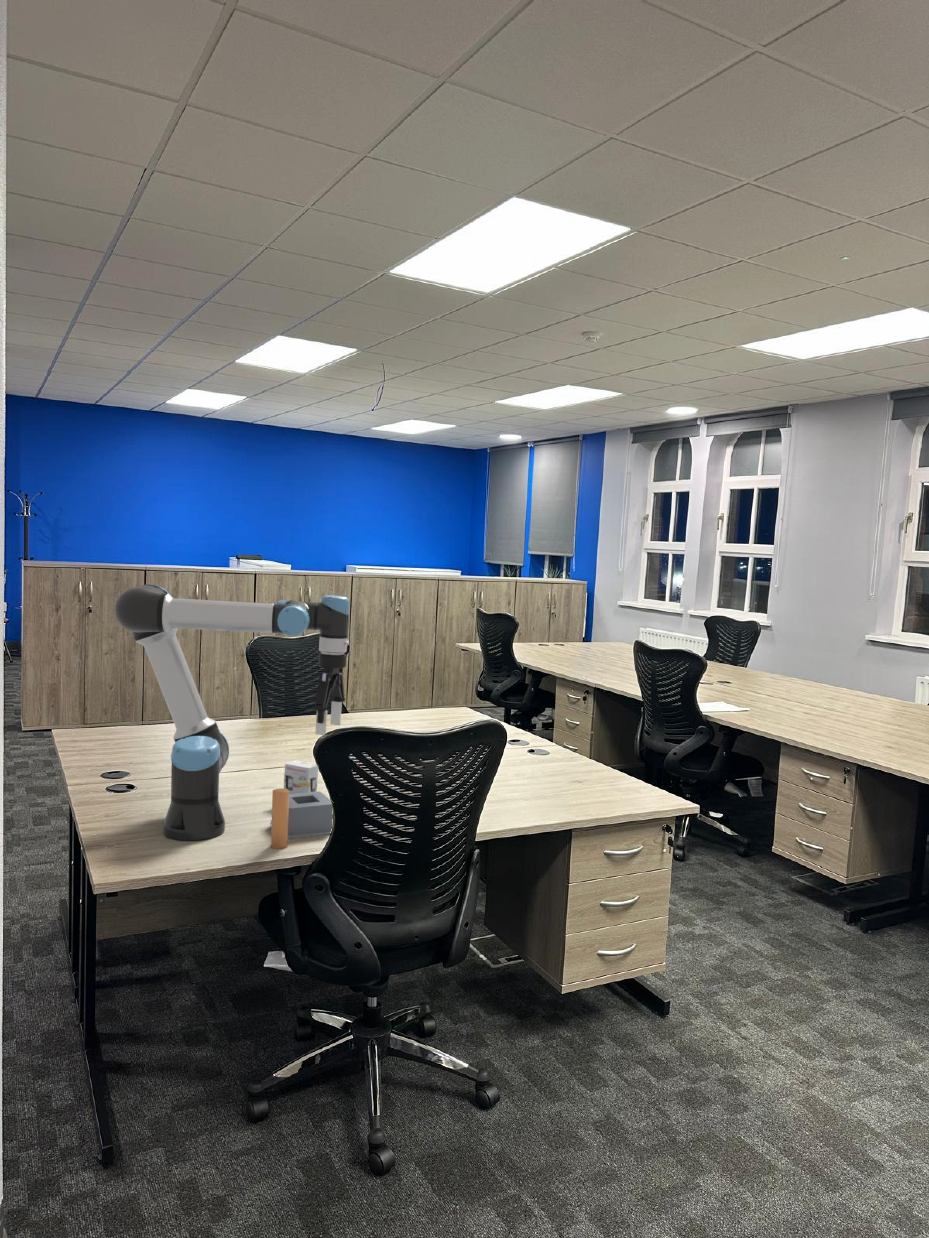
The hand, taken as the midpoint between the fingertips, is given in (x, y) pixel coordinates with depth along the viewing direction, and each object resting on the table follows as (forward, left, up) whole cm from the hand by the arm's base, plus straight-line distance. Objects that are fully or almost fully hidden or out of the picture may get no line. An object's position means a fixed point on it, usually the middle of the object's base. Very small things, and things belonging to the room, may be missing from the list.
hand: (328, 729), depth 240 cm
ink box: (-3, +12, -24) cm, 28 cm away
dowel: (-18, -19, -24) cm, 36 cm away
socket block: (-8, -8, -24) cm, 27 cm away
